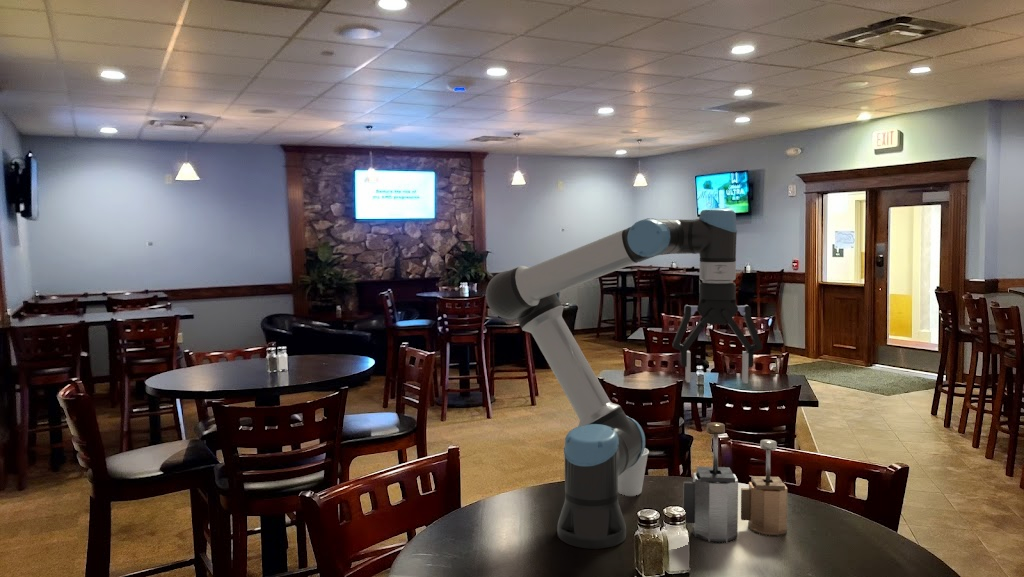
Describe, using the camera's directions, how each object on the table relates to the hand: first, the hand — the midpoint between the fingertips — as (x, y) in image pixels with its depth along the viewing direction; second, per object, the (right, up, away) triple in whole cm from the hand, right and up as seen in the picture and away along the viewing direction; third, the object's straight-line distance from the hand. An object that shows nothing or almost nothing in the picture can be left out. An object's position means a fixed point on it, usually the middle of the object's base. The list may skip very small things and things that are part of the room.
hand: (716, 381), depth 158 cm
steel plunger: (0, -22, +2) cm, 22 cm away
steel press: (0, -34, +2) cm, 34 cm away
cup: (-14, -32, +29) cm, 46 cm away
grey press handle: (+13, -25, +4) cm, 28 cm away
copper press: (+13, -34, +5) cm, 36 cm away
